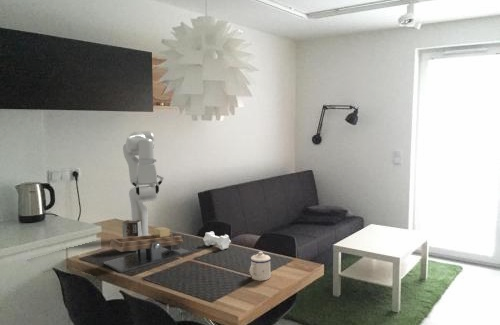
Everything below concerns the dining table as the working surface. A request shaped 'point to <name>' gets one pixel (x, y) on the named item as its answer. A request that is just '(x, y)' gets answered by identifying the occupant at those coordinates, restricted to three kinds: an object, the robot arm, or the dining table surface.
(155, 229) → the yellow wooden cube
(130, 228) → the coffee box
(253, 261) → the teacup with lid
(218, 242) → the dog bone
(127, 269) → the stand
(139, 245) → the long wooden tray
